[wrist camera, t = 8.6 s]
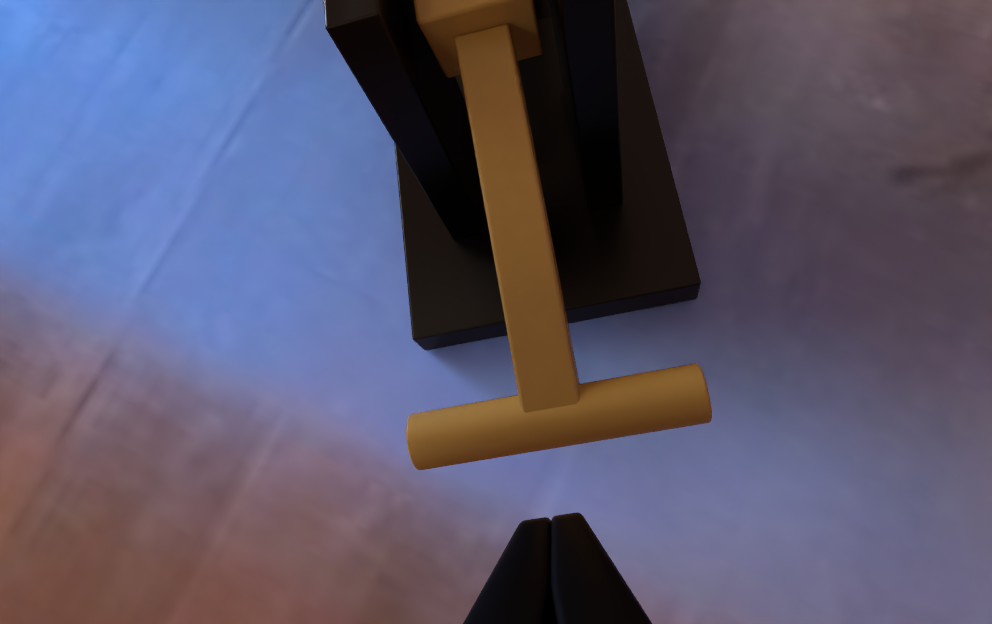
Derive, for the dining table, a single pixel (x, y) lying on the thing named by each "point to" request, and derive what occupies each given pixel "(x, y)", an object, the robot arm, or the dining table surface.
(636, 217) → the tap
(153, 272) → the dining table surface
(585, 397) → the tap lever
